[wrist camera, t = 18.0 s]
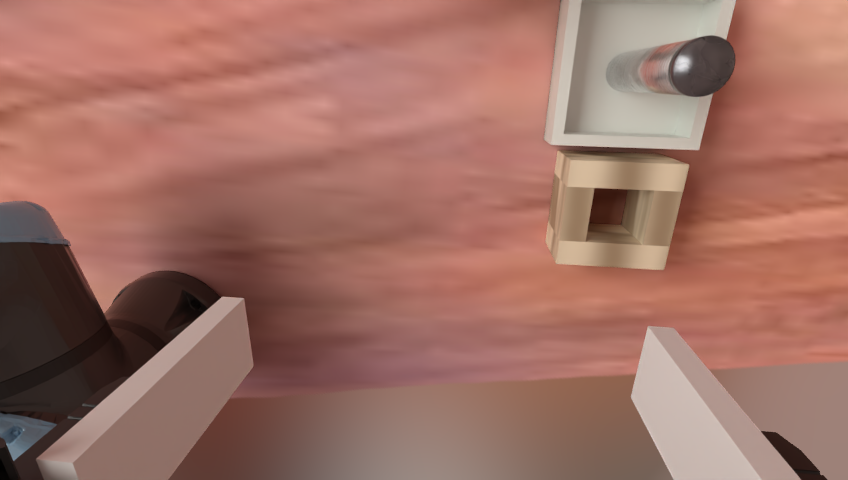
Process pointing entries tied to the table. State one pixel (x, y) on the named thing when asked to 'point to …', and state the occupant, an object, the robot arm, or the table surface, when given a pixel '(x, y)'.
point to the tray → (616, 110)
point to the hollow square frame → (642, 218)
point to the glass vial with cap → (674, 68)
